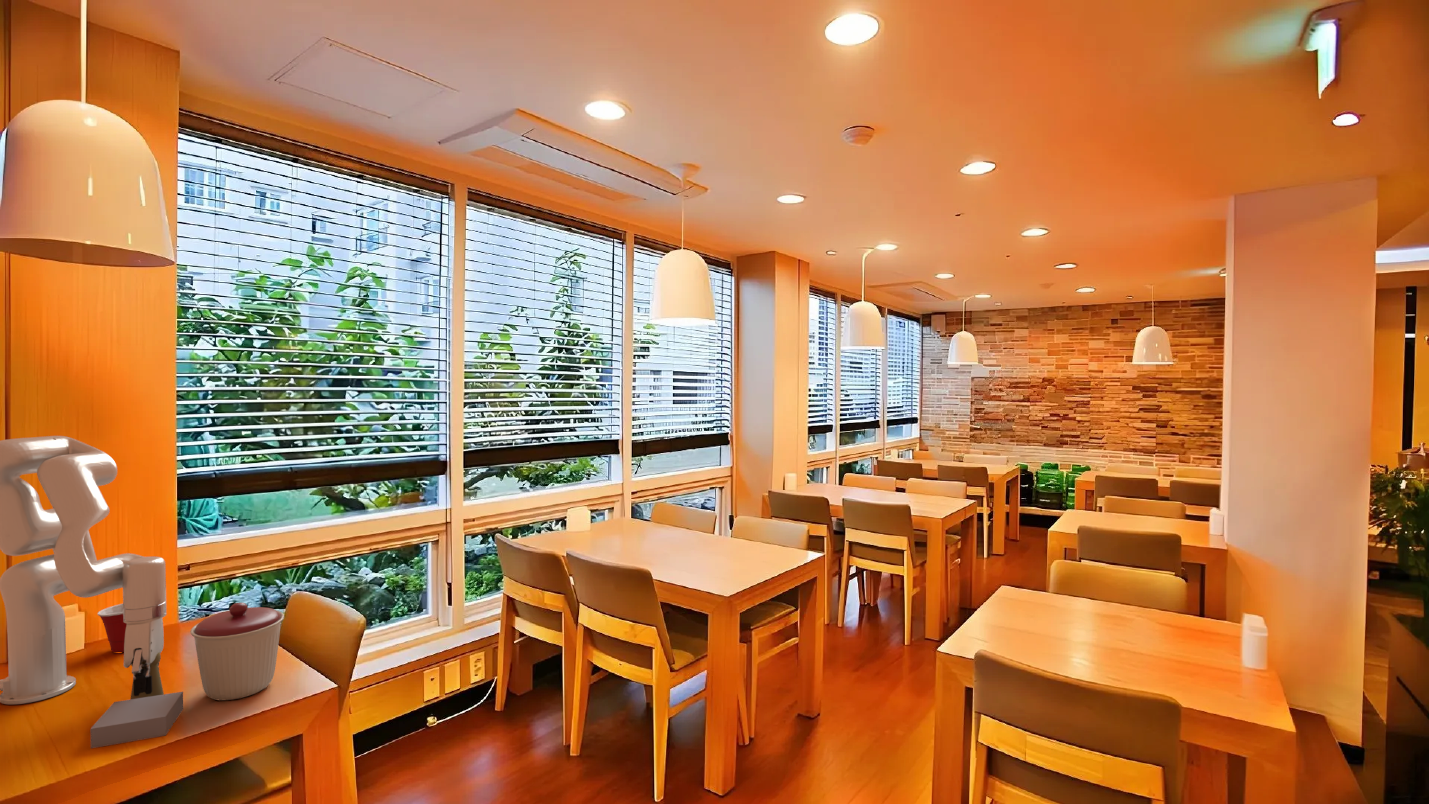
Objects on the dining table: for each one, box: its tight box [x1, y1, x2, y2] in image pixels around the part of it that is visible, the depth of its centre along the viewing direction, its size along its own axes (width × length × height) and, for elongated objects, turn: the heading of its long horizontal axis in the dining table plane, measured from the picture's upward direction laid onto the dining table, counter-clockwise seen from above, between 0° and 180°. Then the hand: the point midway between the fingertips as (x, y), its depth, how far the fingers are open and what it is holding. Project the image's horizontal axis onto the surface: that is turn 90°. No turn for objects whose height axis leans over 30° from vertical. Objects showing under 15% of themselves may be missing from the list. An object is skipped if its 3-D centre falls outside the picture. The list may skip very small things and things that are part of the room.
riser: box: [90, 691, 184, 749], centre depth 141 cm, size 12×12×4 cm
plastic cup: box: [97, 603, 127, 652], centre depth 180 cm, size 11×11×12 cm
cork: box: [129, 652, 165, 700], centre depth 153 cm, size 6×6×11 cm
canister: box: [190, 602, 285, 701], centre depth 158 cm, size 18×18×21 cm
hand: (146, 689), depth 153 cm, fingers closed on cork, 4 cm apart
